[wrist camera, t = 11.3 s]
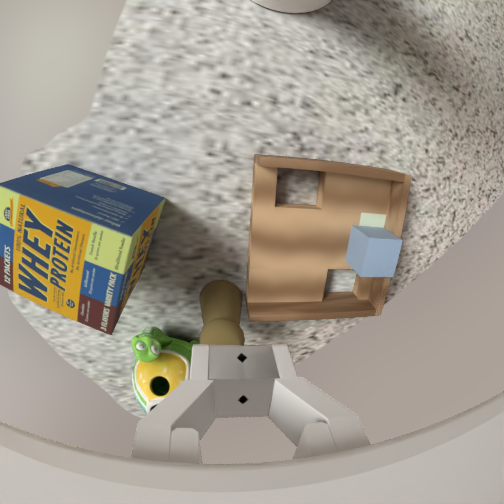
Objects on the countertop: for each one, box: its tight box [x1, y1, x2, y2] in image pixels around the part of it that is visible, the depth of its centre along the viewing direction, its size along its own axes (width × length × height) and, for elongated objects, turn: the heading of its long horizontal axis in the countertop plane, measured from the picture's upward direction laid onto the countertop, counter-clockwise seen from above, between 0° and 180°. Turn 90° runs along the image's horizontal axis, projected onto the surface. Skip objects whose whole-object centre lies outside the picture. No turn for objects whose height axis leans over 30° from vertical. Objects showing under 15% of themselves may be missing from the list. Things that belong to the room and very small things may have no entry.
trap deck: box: [246, 154, 411, 321], centre depth 37 cm, size 20×19×6 cm
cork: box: [200, 280, 245, 345], centre depth 37 cm, size 6×6×11 cm
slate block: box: [345, 225, 403, 277], centre depth 36 cm, size 5×5×5 cm
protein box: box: [0, 164, 166, 335], centre depth 28 cm, size 10×15×16 cm
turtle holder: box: [132, 327, 200, 414], centre depth 39 cm, size 12×18×12 cm
